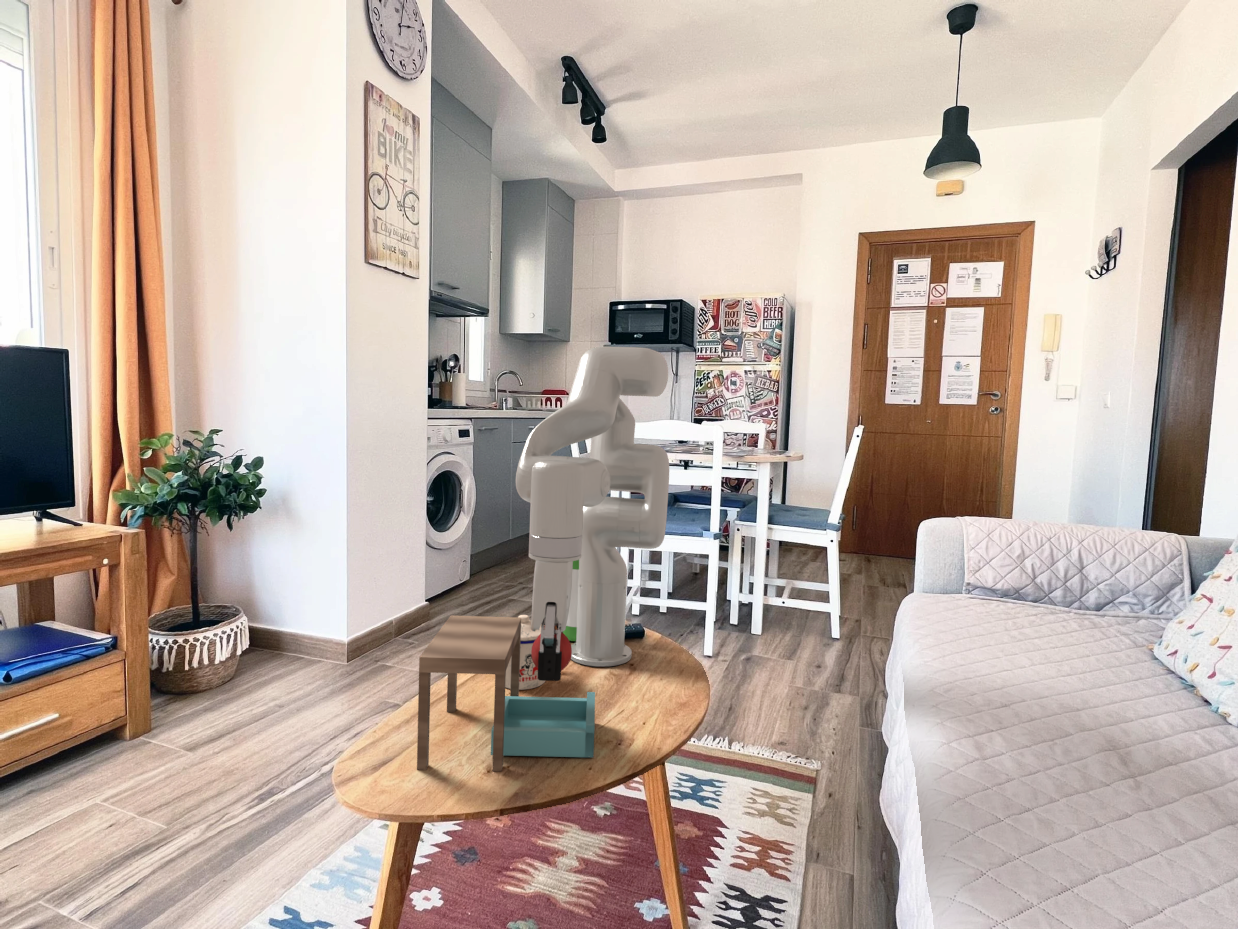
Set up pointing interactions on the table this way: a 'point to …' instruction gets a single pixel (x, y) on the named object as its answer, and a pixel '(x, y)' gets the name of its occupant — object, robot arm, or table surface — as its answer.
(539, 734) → the shelf tray
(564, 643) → the onion
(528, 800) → the table surface
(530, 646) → the teacup with lid
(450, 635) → the wooden stool
